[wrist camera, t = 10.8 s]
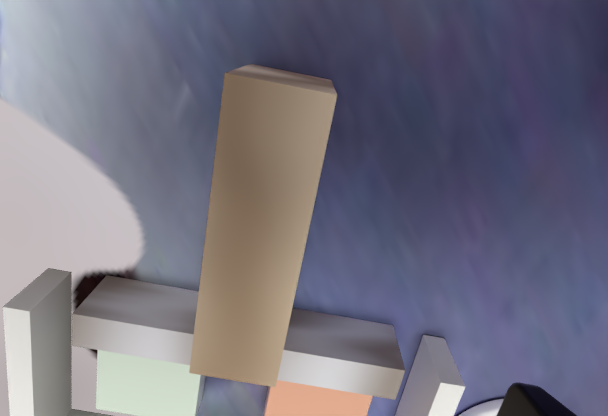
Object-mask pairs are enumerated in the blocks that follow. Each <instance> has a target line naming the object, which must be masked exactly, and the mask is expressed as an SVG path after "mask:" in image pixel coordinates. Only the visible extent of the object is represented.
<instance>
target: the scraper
mask: <svg viewBox="0 0 608 416" xmlns="http://www.w3.org/2000/svg"><path fill="white" fill-rule="evenodd" d="M336 99H337V93H336V91H335V88H334V86H333V83H332V81H331V80H329V79H324V78H319V77H314V76H309V75H304V74H299V73H294V72H289V71H284V70H279V69H274V68H269V67H264V66H259V65H254V64H249V65H246V66H243V67H240V68H237V69H234V70H232V71H229V72H226V73H225V75H224V83H223V92H222V100H221V109H220V117H219V125H218V134H217V142H216V151H215V159H214V168H213V176H212V184H211V193H210V201H209V210H208V218H207V226H206V235H205V243H204V252H203V260H202V268H201V277H200V285H199V291H194V290H188V289H183V288H177V287H171V286H166V285H160V284H154V283H148V282H143V281H137V280H131V279H126V278H120V277H114V276H109V275H107V276H106V277H105V278H104V279H103V280H102V281H101V282H100V283H99V285H98V286H97V287H96V288H95V289H94V290H93V291H92V292H91V294H90V295H89V296H88V297H87V298H86V299H85V300H84V301H83V302H82V304H81V305H80V306H79V307H78V308H77V309H76V310H75V311H74V313H73V314H72V334H73V335H72V338H73V340H72V345H73V346H79V347H84V348H90V349H96V350H102V351H108V352H114V353H120V354H126V355H132V356H137V357H143V358H149V359H155V360H161V361H167V362H173V363H179V364H185V365H190V369H189V373H192V374H198V375H204V376H210V377H216V378H222V379H228V380H234V381H240V382H246V383H252V384H258V385H264V386H270V387H276V383H277V380H281V381H286V382H292V383H298V384H304V385H310V386H316V387H322V388H328V389H334V390H340V391H346V392H352V393H358V394H364V395H370V396H376V397H382V398H388V399H394V400H395V399H396V396H397V394H398V391H399V388H400V385H401V382H402V379H403V376H404V373H405V368H404V364H403V360H402V357H401V353H400V349H399V346H398V342H397V338H396V335H395V331H394V328H393V325H387V324H382V323H376V322H370V321H365V320H359V319H353V318H348V317H342V316H336V315H331V314H325V313H319V312H313V311H308V310H302V309H296V308H292V307H293V302H294V298H295V293H296V288H297V284H298V279H299V274H300V269H301V265H302V260H303V255H304V250H305V246H306V241H307V236H308V232H309V227H310V222H311V217H312V213H313V208H314V203H315V198H316V194H317V189H318V184H319V180H320V175H321V170H322V165H323V161H324V156H325V151H326V146H327V142H328V137H329V132H330V128H331V123H332V118H333V113H334V109H335V104H336Z"/></svg>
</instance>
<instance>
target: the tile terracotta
mask: <svg viewBox="0 0 608 416" xmlns="http://www.w3.org/2000/svg"><path fill="white" fill-rule="evenodd" d="M372 397H373V396H370V395H364V394H358V393H352V392H346V391H340V390H334V389H328V388H322V387H316V386H310V385H304V384H298V383H292V382H286V381H281V380H277V383H276V387H270V386H269V387H268V392H267V397H266V402H265V407H264V414H263V416H367V413H368V409H369V406H370V403H371V400H372Z"/></svg>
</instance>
